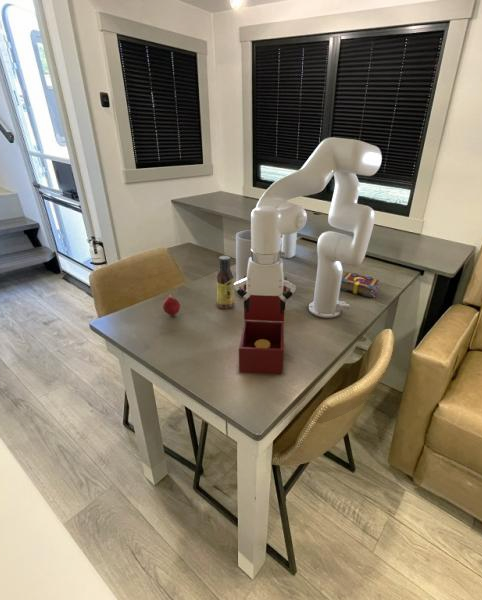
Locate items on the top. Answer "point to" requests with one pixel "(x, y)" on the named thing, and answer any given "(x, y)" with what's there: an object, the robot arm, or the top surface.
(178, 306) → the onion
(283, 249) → the paper towel roll
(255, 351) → the red bin
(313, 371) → the top surface
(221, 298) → the sauce bottle
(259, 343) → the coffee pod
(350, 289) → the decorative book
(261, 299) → the lid
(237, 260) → the cylinder vase
